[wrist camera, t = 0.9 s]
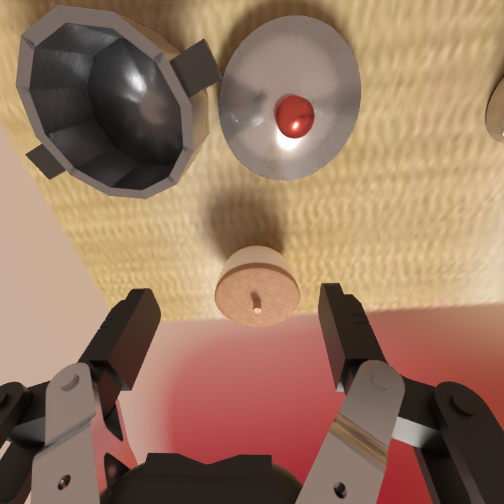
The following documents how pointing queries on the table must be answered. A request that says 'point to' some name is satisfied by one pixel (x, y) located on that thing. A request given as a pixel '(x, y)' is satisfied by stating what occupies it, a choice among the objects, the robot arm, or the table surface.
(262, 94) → the lid
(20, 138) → the table surface
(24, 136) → the table surface
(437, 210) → the table surface
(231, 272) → the lidded jar
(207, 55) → the pot
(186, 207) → the table surface
